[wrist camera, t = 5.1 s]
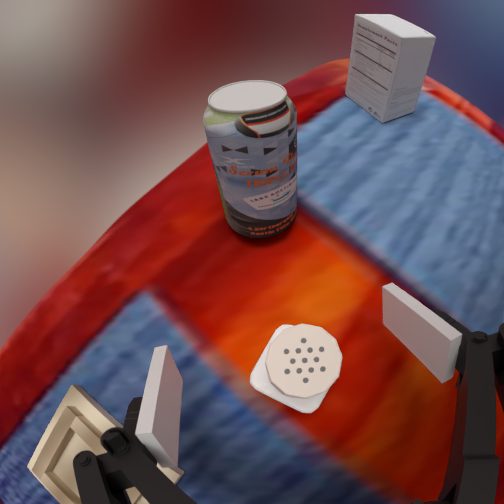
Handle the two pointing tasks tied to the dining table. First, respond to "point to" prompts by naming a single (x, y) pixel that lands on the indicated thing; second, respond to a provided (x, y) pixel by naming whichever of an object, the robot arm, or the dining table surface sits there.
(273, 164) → the beverage can
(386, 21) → the supplement box
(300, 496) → the dining table surface
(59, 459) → the tray
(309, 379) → the pepper shaker
